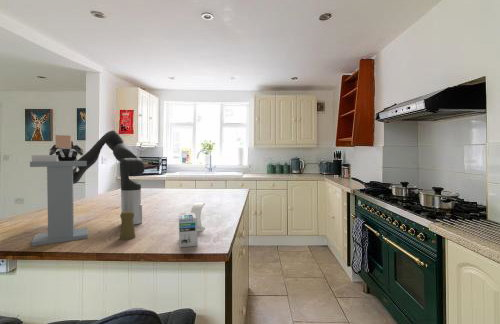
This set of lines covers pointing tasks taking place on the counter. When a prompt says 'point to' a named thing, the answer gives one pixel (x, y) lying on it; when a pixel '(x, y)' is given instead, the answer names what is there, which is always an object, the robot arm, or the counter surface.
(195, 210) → the headphone stand
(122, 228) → the cork
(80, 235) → the stand
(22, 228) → the counter surface
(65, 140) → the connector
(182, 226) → the light bulb box
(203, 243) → the counter surface
